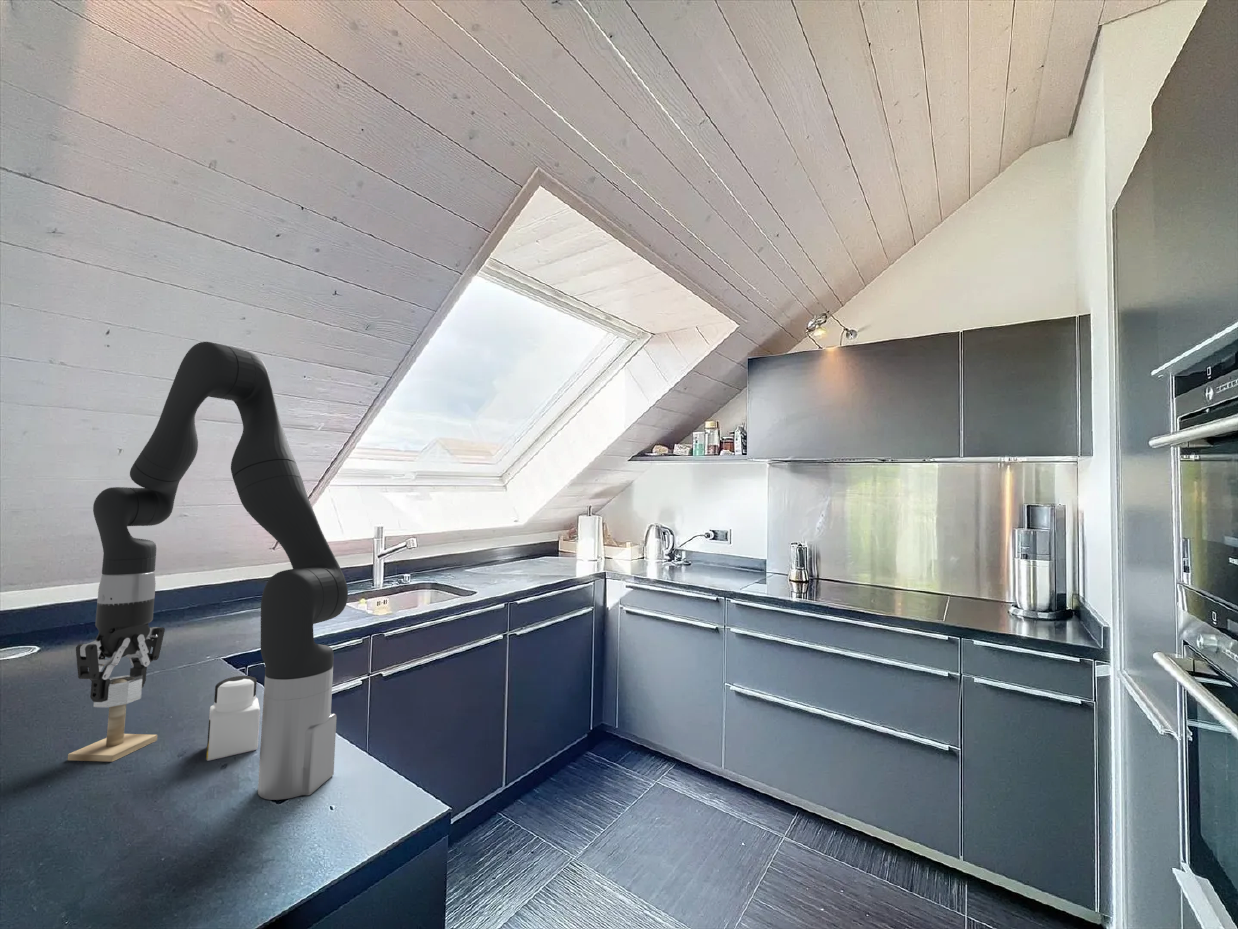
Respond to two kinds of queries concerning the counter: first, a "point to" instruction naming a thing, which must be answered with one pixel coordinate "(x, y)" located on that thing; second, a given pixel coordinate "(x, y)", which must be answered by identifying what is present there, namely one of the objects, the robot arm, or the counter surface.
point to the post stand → (113, 739)
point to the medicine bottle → (233, 718)
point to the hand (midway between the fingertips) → (118, 694)
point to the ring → (122, 691)
